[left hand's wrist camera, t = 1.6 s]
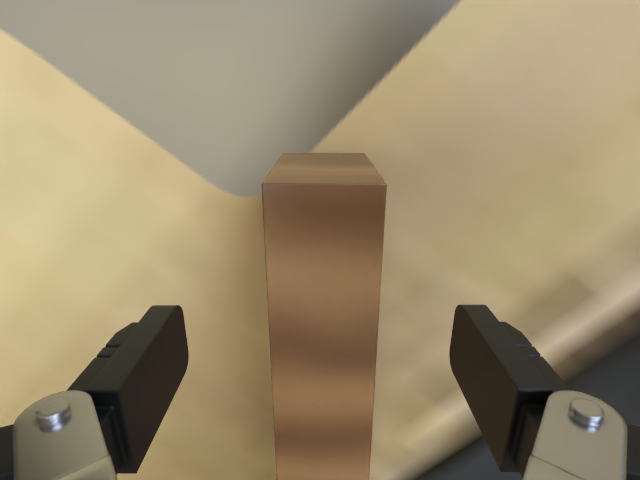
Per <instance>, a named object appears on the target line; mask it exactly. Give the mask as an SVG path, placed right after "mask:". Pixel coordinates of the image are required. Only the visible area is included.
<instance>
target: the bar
mask: <svg viewBox="0 0 640 480" xmlns="http://www.w3.org/2000/svg"><path fill="white" fill-rule="evenodd" d="M386 187H387V185H386V183H385V181H384V180H383V179H382V177H381V176H380V174H379V173H378V172H377V170H376V169H375V167H374V166H373V165H372V163H371V162H370V160H369V159H368V158H367V156H366V155H365V154H355V153H284V154H282V156H281V157H280V158H279V160H278V161H277V163H276V164H275V166H274V167H273V169H272V170H271V171H270V173H269V174H268V176H267V177H266V179H265V180H264V181H263V183H262V202H263V221H264V240H265V259H266V279H267V298H268V317H269V337H270V356H271V375H272V395H273V414H274V433H275V452H276V472H277V480H369V470H370V454H371V437H372V420H373V404H374V387H375V370H376V354H377V337H378V320H379V304H380V287H381V270H382V254H383V237H384V221H385V204H386Z"/></svg>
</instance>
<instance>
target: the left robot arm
mask: <svg viewBox="0 0 640 480" xmlns="http://www.w3.org/2000/svg"><path fill="white" fill-rule="evenodd" d="M450 364H451V368H452V371H453V374H454V376H455V378H456V380H457V382H458V384H459V386H460V388H461V390H462V392H463V395H464V397H465V399H466V401H467V403H468V405H469V407H470V409H471V411H472V413H473V415H474V417H475V419H476V422H477V424H478V426H479V428H480V430H481V432H482V434H483V436H484V438H485V440H486V442H487V444H488V446H489V449H490V451H491V453H492V455H493V457H494V459H495V461H496V463H497V465H498V467H499V469H500V471H501V472H520V474H521V476H522V477H523V480H640V427H638V426H634V425H629V424H626V423H625V421H624V419H623V418H622V417H621V415H620V414H619V413H618V412H617V411H616V410H614V409H613V408H612V407H611V406H609V405H608V404H606V403H605V402H603V401H601V400H599V399H597V398H595V397H593V396H590V395H588V394H585V393H581V392H577V391H571V390H570V389H569V388H568V386H567V385H566V384H565V383H564V382H563V381H562V379H561V378H560V377H559V376H558V375H557V373H556V372H555V371H554V370H553V369H552V368H551V366H550V365H549V364H548V363H547V362H546V361H545V359H544V358H543V357H540V354H539V352H538V351H537V350H536V349H535V348H534V347H532V344H531V343H530V342H529V341H528V340H527V338H526V337H525V336H524V335H523V334H522V332H520V331H519V330H517V329H515V328H514V327H512V326H511V325H509V324H508V323H506V322H499V321H498V320H497V318H496V317H495V316H494V315H493V313H492V312H491V311H490V310H489V308H488V307H487V306H486V305H458V306H457V307H456V310H455V315H454V322H453V330H452V337H451V345H450ZM187 365H188V345H187V338H186V331H185V323H184V316H183V311H182V308H181V307H180V306H179V305H154V306H151V307H150V309H149V310H148V311H147V312H146V314H145V315H144V316H143V317H142V319H141V320H140V321H139V322H138V323H131V324H130V325H128V326H126V327H125V328H123V329H122V330H120V331H119V332H117V333H116V334H115V335H114V336H113V337H112V338H111V340H110V341H109V342H108V343H107V344H106V347H105V348H103V349H102V350H101V351H100V352H99V354H98V355H97V358H94V359H93V361H92V362H91V363H90V364H89V365H88V366H87V368H86V369H85V370H84V371H83V372H82V373H81V374H80V376H79V377H78V378H77V379H76V380H75V381H74V383H73V384H72V385H71V386H70V387H69V388H68V390H67V391H63V392H59V393H55V394H52V395H50V396H47V397H45V398H43V399H41V400H39V401H37V402H35V403H34V404H32V405H31V406H29V407H28V408H27V409H26V410H24V411H23V412H22V413H21V414H20V415H19V417H18V418H17V419H16V421H15V423H14V424H13V425H9V426H5V427H0V480H117V476H116V475H117V473H137V471H138V469H139V467H140V465H141V463H142V461H143V459H144V457H145V455H146V452H147V450H148V448H149V446H150V444H151V442H152V440H153V438H154V436H155V434H156V432H157V430H158V428H159V426H160V424H161V422H162V420H163V418H164V416H165V413H166V411H167V409H168V407H169V405H170V403H171V401H172V399H173V397H174V395H175V393H176V391H177V389H178V387H179V385H180V383H181V381H182V379H183V377H184V374H185V372H186V369H187Z"/></svg>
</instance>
